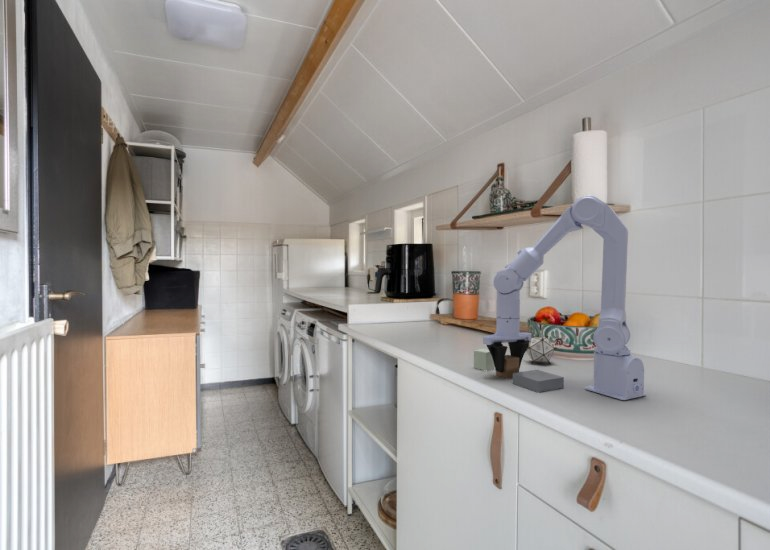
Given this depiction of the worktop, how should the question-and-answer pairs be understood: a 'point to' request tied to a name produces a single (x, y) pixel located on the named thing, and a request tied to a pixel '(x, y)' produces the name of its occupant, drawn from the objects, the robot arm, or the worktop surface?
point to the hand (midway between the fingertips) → (507, 370)
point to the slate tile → (538, 380)
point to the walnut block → (509, 366)
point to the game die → (540, 349)
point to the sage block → (483, 359)
